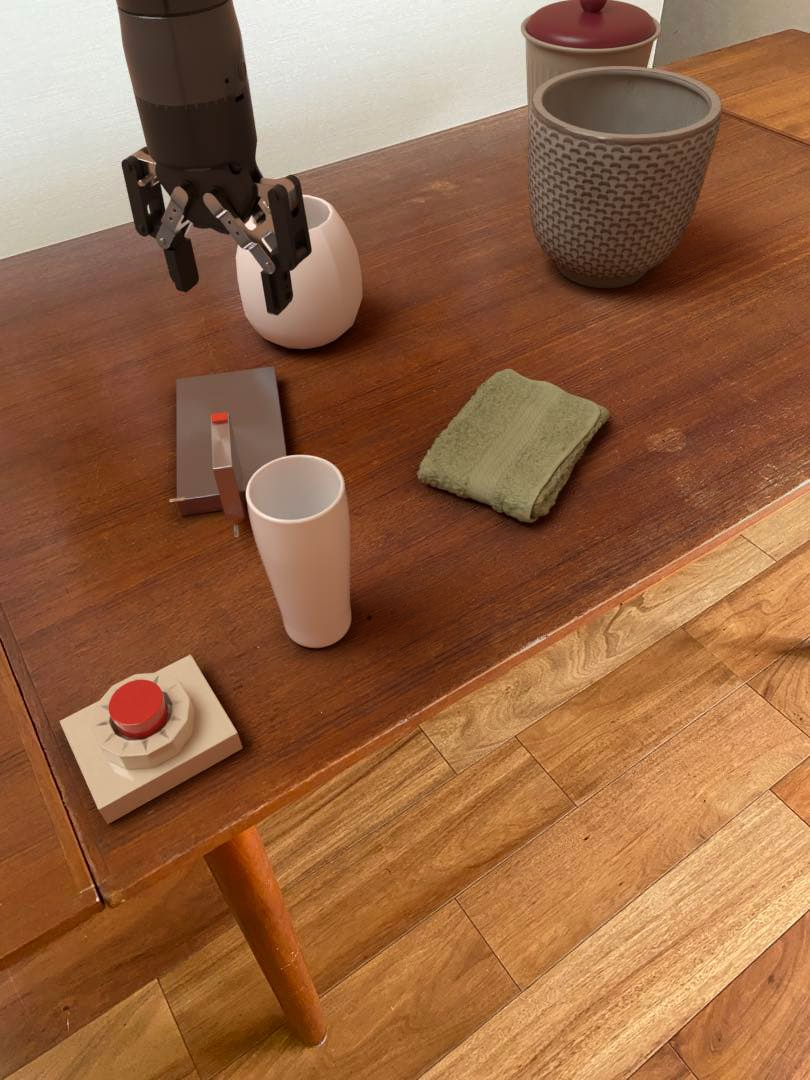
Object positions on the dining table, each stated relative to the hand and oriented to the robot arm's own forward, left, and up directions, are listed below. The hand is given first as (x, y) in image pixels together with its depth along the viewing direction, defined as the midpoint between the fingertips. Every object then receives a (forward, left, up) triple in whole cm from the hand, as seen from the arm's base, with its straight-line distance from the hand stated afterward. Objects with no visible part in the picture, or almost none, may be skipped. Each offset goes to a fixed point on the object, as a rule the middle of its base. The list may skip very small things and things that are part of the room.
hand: (233, 298), depth 68 cm
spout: (-5, +3, -16) cm, 17 cm away
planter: (+27, -42, -18) cm, 53 cm away
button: (-28, +10, -14) cm, 33 cm away
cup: (+22, -6, -18) cm, 29 cm away
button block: (-28, +10, -18) cm, 34 cm away
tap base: (+1, +3, -18) cm, 18 cm away
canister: (+58, -49, -18) cm, 78 cm away
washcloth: (-3, -23, -18) cm, 29 cm away
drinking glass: (-20, -3, -18) cm, 27 cm away
